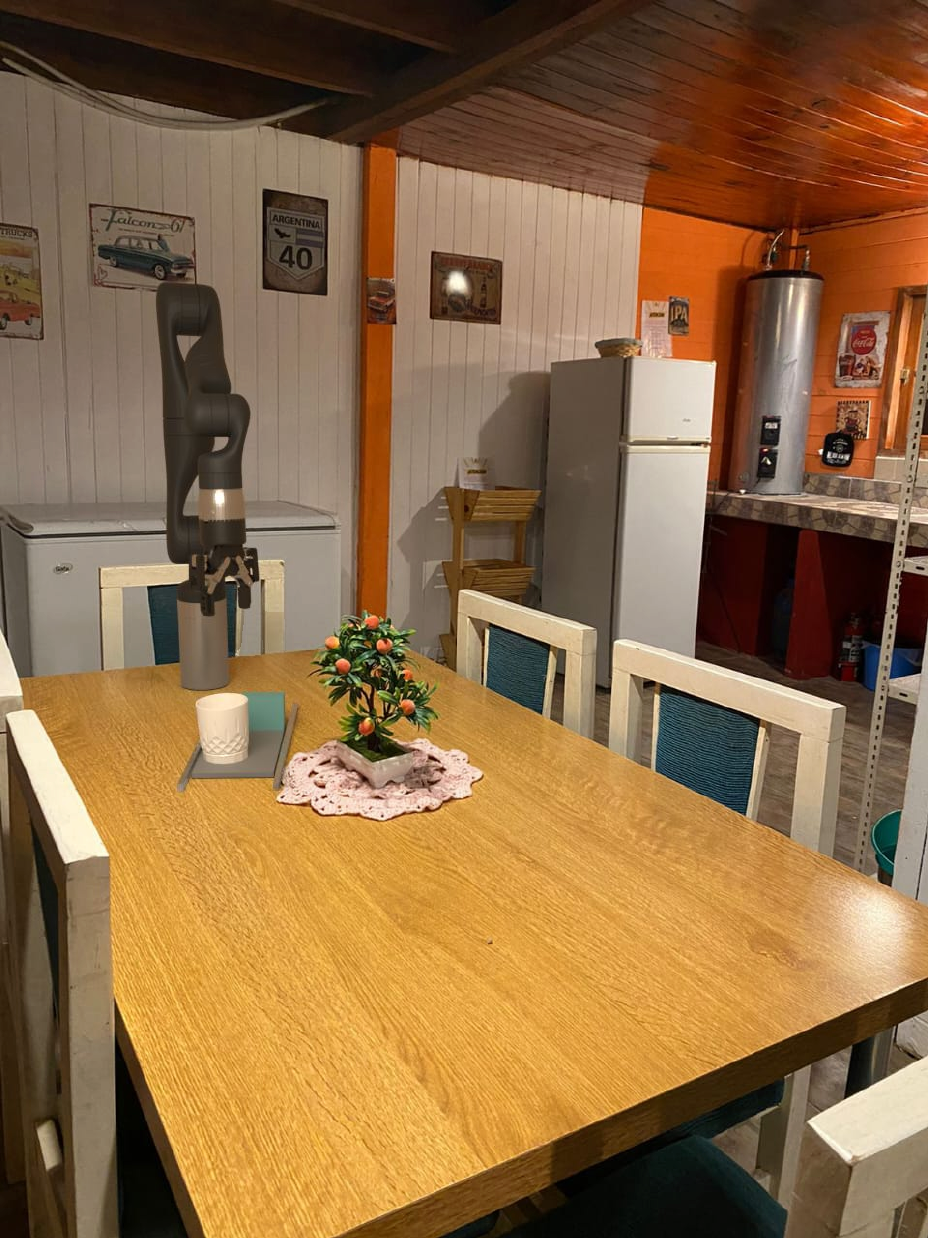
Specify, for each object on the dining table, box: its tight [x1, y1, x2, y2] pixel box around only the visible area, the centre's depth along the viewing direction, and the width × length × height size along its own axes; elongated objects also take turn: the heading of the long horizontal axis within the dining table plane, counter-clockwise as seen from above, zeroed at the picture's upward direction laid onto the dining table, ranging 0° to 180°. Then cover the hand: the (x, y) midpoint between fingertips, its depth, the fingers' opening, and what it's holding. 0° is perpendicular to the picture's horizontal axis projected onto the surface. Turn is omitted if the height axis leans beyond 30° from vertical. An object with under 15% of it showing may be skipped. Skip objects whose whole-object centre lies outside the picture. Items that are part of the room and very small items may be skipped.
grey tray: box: [191, 691, 287, 779], centre depth 156 cm, size 22×12×7 cm, turn 5°
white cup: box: [194, 692, 249, 764], centre depth 152 cm, size 8×8×10 cm
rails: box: [176, 701, 299, 793], centre depth 160 cm, size 38×14×1 cm, turn 5°
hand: (226, 612), depth 165 cm, fingers open, 8 cm apart
